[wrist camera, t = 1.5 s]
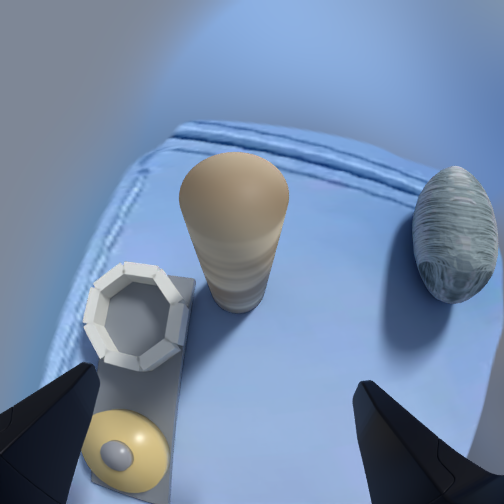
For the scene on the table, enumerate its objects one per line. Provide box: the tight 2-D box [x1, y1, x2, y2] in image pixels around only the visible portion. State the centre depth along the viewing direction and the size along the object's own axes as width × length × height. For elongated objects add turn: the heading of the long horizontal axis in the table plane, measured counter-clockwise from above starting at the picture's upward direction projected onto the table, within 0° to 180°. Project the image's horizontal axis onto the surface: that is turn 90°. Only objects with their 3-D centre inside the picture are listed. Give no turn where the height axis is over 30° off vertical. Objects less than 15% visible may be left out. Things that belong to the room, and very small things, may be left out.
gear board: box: [81, 261, 196, 504], centre depth 17 cm, size 20×8×4 cm, turn 174°
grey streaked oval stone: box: [412, 166, 498, 304], centre depth 22 cm, size 14×10×10 cm
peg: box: [179, 152, 289, 313], centre depth 17 cm, size 4×4×13 cm
